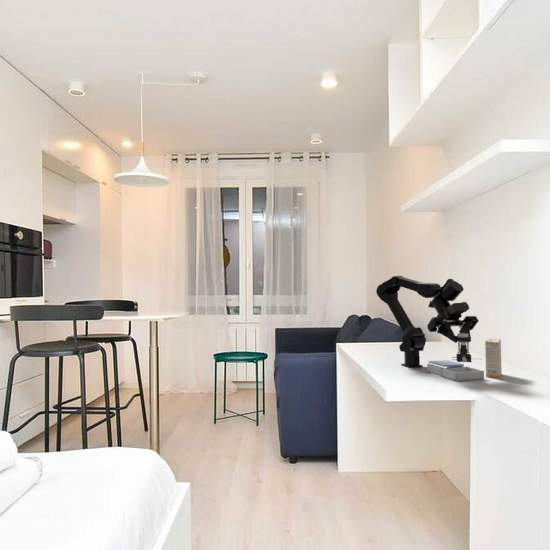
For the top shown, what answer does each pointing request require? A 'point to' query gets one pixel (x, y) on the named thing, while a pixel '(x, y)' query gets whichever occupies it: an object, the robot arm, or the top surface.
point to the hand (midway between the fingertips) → (463, 341)
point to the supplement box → (493, 358)
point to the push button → (463, 348)
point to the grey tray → (457, 372)
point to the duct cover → (446, 363)
